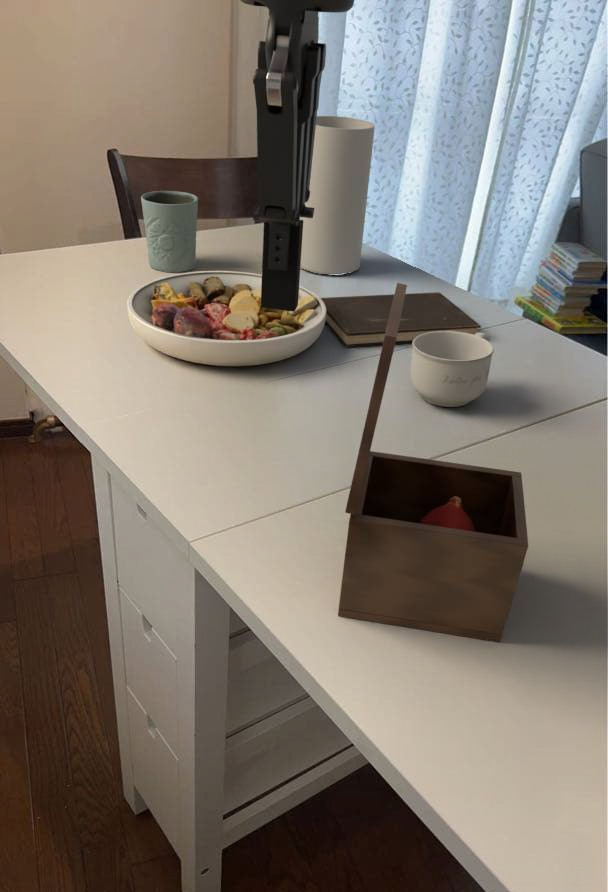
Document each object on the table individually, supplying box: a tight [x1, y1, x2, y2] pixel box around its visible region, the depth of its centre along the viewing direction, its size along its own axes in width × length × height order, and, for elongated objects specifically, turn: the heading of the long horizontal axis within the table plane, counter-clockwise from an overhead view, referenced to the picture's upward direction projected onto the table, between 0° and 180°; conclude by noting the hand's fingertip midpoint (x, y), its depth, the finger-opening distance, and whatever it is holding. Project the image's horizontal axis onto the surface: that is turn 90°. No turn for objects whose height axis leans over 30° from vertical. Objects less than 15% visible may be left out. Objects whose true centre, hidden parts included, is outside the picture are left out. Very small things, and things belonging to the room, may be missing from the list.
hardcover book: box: [320, 291, 482, 349], centre depth 131 cm, size 16×23×2 cm
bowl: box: [126, 270, 326, 367], centre depth 122 cm, size 30×30×8 cm
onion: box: [419, 496, 476, 532], centre depth 75 cm, size 6×6×8 cm
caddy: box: [337, 450, 529, 643], centre depth 74 cm, size 15×12×11 cm
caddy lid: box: [344, 282, 408, 515], centre depth 66 cm, size 16×12×1 cm
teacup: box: [410, 331, 495, 408], centre depth 110 cm, size 14×11×8 cm
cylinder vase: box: [300, 115, 376, 275], centre depth 147 cm, size 12×12×25 cm
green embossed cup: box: [140, 190, 199, 273], centre depth 146 cm, size 10×10×12 cm
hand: (279, 305), depth 63 cm, fingers closed
